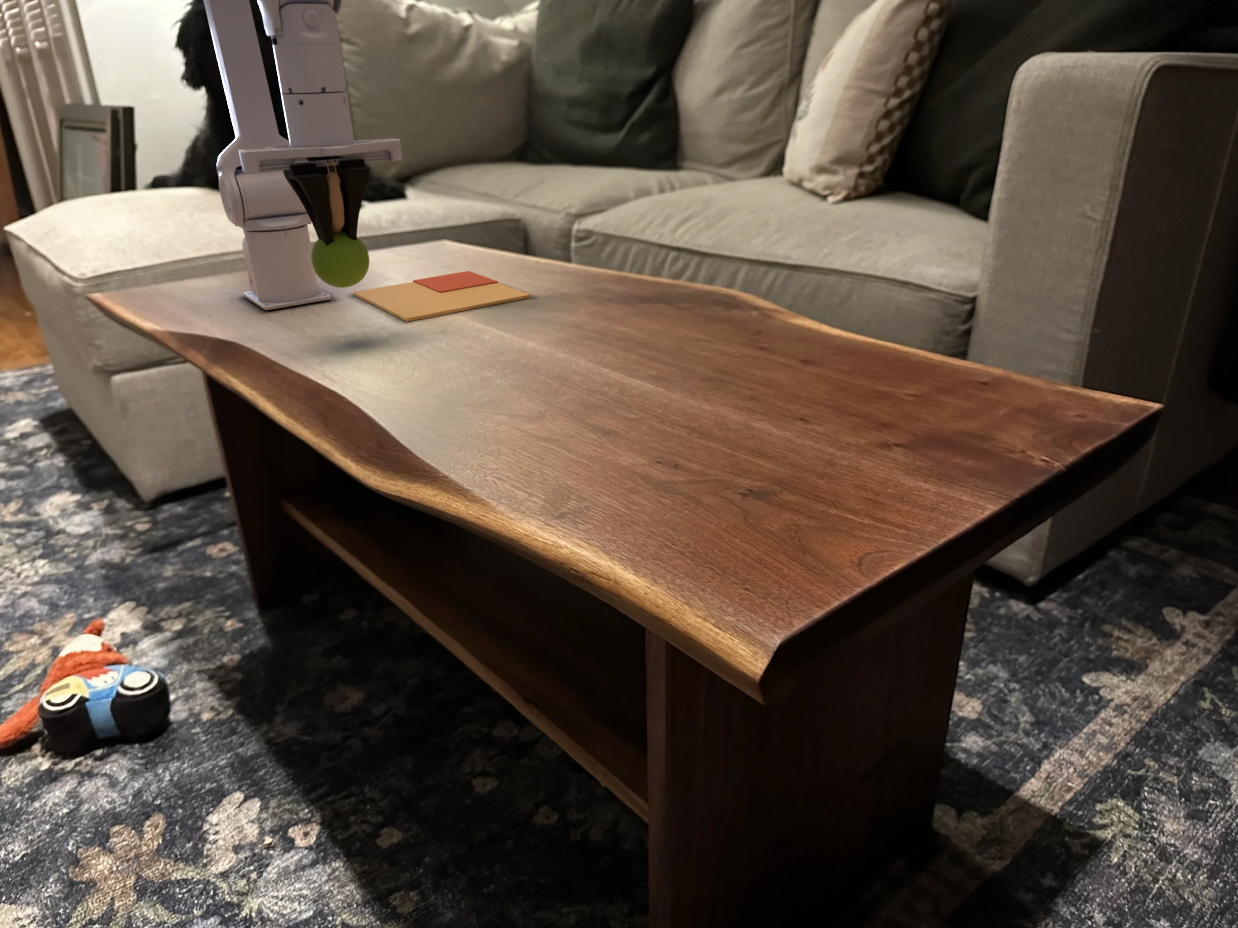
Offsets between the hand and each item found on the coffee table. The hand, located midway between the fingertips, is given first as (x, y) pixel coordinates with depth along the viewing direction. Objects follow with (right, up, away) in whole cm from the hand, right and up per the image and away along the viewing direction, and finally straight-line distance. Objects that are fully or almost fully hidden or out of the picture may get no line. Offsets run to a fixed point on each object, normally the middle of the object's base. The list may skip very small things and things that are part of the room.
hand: (338, 245), depth 85 cm
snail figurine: (0, -4, +2) cm, 4 cm away
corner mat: (+5, -1, +22) cm, 23 cm away
